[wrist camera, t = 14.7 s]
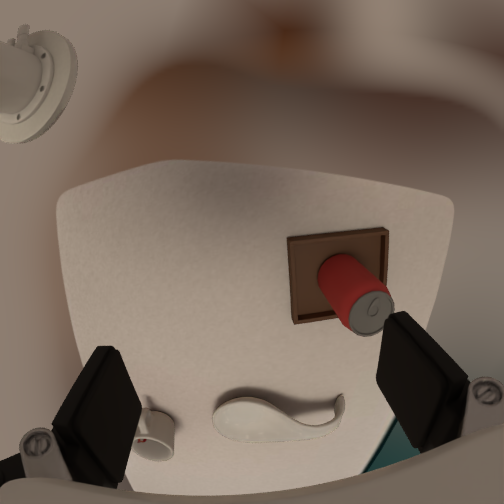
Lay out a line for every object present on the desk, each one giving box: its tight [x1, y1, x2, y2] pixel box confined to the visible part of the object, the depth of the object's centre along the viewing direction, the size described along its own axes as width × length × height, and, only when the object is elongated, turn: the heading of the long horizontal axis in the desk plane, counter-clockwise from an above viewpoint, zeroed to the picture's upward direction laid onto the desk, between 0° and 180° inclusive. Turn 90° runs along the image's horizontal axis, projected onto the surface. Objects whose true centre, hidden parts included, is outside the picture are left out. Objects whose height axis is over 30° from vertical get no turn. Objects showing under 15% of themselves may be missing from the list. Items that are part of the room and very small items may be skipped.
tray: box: [287, 227, 389, 325], centre depth 41 cm, size 12×14×2 cm
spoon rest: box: [212, 395, 345, 443], centre depth 46 cm, size 24×12×7 cm, turn 90°
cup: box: [131, 408, 175, 461], centre depth 45 cm, size 11×8×8 cm
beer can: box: [317, 254, 395, 337], centre depth 36 cm, size 7×7×12 cm
